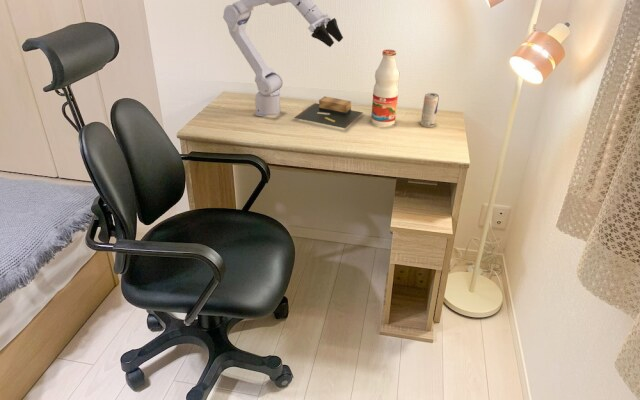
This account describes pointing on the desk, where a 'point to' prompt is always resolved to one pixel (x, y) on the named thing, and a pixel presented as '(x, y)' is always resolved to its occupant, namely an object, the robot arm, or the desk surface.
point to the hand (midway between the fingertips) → (336, 42)
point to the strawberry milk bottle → (385, 90)
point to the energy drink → (429, 109)
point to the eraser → (335, 105)
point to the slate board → (328, 116)
